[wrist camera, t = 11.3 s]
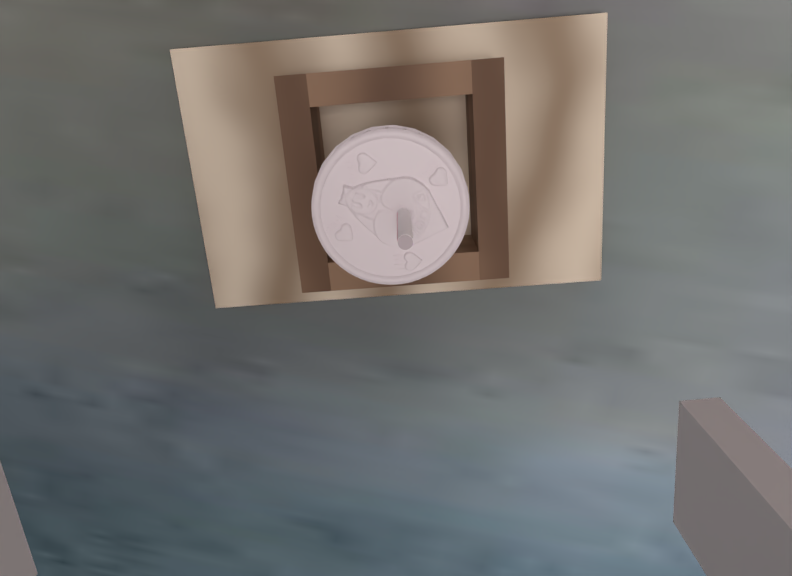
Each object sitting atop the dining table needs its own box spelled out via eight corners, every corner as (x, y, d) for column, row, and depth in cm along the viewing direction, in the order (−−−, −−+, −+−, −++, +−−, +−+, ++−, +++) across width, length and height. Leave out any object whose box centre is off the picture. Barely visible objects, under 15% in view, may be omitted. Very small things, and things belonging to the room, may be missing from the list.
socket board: (220, 302, 38) (198, 331, 34) (176, 50, 34) (144, 47, 29) (595, 274, 38) (621, 301, 33) (601, 14, 33) (631, 6, 29)
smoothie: (430, 244, 36) (449, 348, 23) (318, 211, 35) (271, 297, 22) (468, 131, 34) (513, 173, 21) (350, 94, 33) (320, 112, 20)
